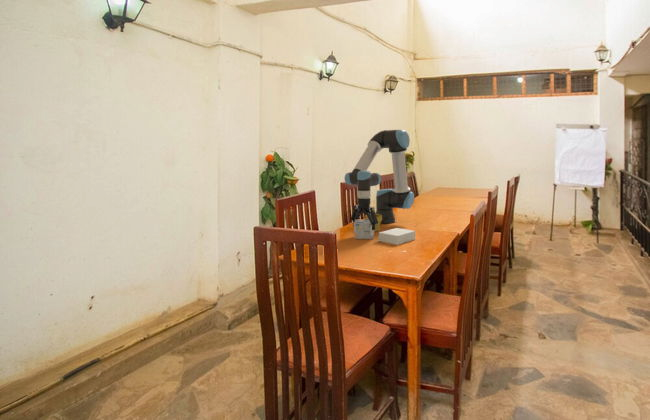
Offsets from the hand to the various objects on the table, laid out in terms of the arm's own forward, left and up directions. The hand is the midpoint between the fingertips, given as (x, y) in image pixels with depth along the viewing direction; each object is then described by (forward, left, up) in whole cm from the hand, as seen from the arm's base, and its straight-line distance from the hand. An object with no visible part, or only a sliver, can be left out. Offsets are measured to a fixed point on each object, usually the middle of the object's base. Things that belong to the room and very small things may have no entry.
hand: (364, 233), depth 237 cm
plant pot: (-9, +20, -3) cm, 22 cm away
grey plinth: (+18, +8, -2) cm, 20 cm away
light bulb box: (0, 0, -3) cm, 3 cm away
